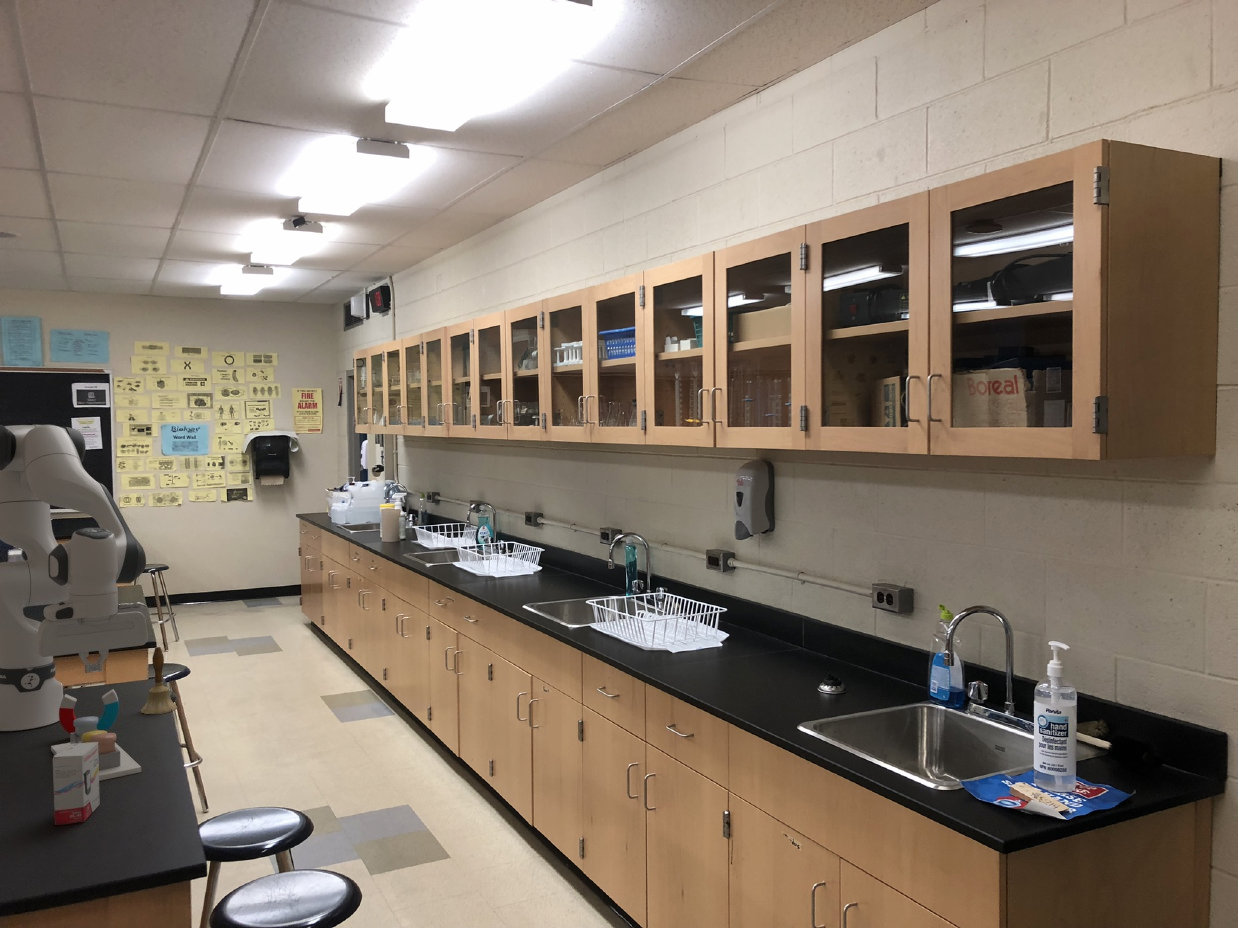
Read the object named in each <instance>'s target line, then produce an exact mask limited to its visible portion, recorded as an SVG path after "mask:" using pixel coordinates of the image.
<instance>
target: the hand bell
mask: <svg viewBox="0 0 1238 928" xmlns="http://www.w3.org/2000/svg"><path fill="white" fill-rule="evenodd" d="M163 653H164V652H163V651H162V647H160V646H156V647H154V651H153V653H152V667H153V670H154V687H152V688H151V689H149V690H148V695H147V700H146V702H145V705H144V706H143V707H142V708H141V710H140V711H141V712H140V714H142V713H144V714H143V715H146V714H156V715H162V714H167V713H172V712H174V711H176V710H177V709H178V706H177V705H176V704H175V703H174V702H173V700H172V698H171V694H170V689H169V687H167V686H164V682H163V668H164V665H165V664H164V663H165V656H164V654H163ZM171 709H172V712H171Z"/></svg>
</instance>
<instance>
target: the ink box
mask: <svg viewBox="0 0 1238 928" xmlns="http://www.w3.org/2000/svg"><path fill="white" fill-rule="evenodd" d="M52 774H53V775H52V779H53V780H52V781H53V783H52V784H53V807H54V808H53V809H54V810H53V811H54V812H53V814H54V825H56V826H61V825H69V824H75V823H84V822H85V821H86V820H87V819H88V818H90V816H91V815H92V814H93V813H94V811H95V810H96V809H97V808H98V807H99V806H100V804H101V803H100V781H99V758H98V742H90V743H75V744H69V745H68V746H67V747H65V748H64V749H63V750H61V751H60V752H59V753H57V754H56V755H53V758H52Z"/></svg>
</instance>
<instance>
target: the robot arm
mask: <svg viewBox="0 0 1238 928" xmlns="http://www.w3.org/2000/svg"><path fill="white" fill-rule="evenodd" d="M86 449H87V448H86V441H85V437H84V435H83V433H81V431H79V430H78V429H76V428H72V427H68V426H57V425H54V424H32V425H30V424H29V425H28V424H20V425H17V424H15V425H3V424H0V541H1V542H3V543H4V544H7V545H10V546H12V547H15V548H18V549H21V550H22V551H24V553H25V555H26V557H27V560H16V561H2V562H0V732H13V731H23V730H29V729H36V728H41V727H45V726H49V725H52V724H54V723H57V722H60V720H59V708H60V705H61V702H62V699H63V697H64V690H63V689H64V687H63V683H62V682H60V681H59V680H57V679H56V678H55V677H56V669H57V667H56V661H54V657H57V656H64V655H65V656H66V655H73V654H78V657H79V659H80V660H81V662H82V663H83V664H84V673H86V674H91V673H98V672H103V664H104V662H105V661H106V659H107V658H108V656H109V650H115V649H123V648H130V647H138V646H144V645H145V644H146V643H148V640H149V632H148V626H147V620H148V618H149V608H148V606H147V605H146V604H144V603H141V601H135V602H131V603H130V602H124V603H119V589H118V585H117V584H119V585H120V584H131V583H133V582H134V581H136V580H137V579H139V577H140V576H141V575H142V574H143V572H145V569H146V566H147V556H146V553H145V549H144V547H143V546H142V544H141V543H140V542H139V540H138V539H137V538H136V537H135V536H134V535H133V532H132V531H131V529H130V527H129V525H128V524H127V522H126V520H125V518H124V516H123V514H122V512H121V511H120V509H119V507H118V505H117V504H116V502H115V500H114V498H113V496H112V494H111V493H110V491H109V489H108V488H107V487H106V486H105V485H104V484H103V483H101V482H99V481H96V480H95V479H94V478H93V477H92V476H91V475H90V474H89V473H88V472H87V470H85V468H84V466H83V464H82V463H83V462H84V459H85V455H86ZM51 506H53V507H56V508H57V507H58V508H62V509H63V508H64V509H69V510H72V511H76V512H80V513H83V514H86V515H88V516H90V517H91V518H93V519H94V520H95V521H96V523H97V525H98V526H99V527H84V528H79V529H77V530H75V531H73V533H72V535H71V539H69V540H68V541H66V542H64V543H60V544H59V543H58V542H57V540H56V538H55V535H54V532H53V527H52V517H51ZM44 605H45V607H44V609H43V610H42V611H43V616H44V619H43V620H42V621H39V620H36V619H32V618H29V617H26V616H25V614H24V608H26V607H35V606H44ZM46 605H47V606H46ZM89 652H98V654H99V655H100V656H99V658H98V659H97V661H95V662H89V661H88V659H87V658H88V657H89V654H90V653H89Z"/></svg>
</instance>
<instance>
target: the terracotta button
mask: <svg viewBox="0 0 1238 928" xmlns="http://www.w3.org/2000/svg"><path fill="white" fill-rule="evenodd" d="M116 741H117V733H115V732H107V733H102V734H97V735H94V736H92V737H90V742H98V755H100V754H105V753H110V752H115V743H116Z"/></svg>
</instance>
